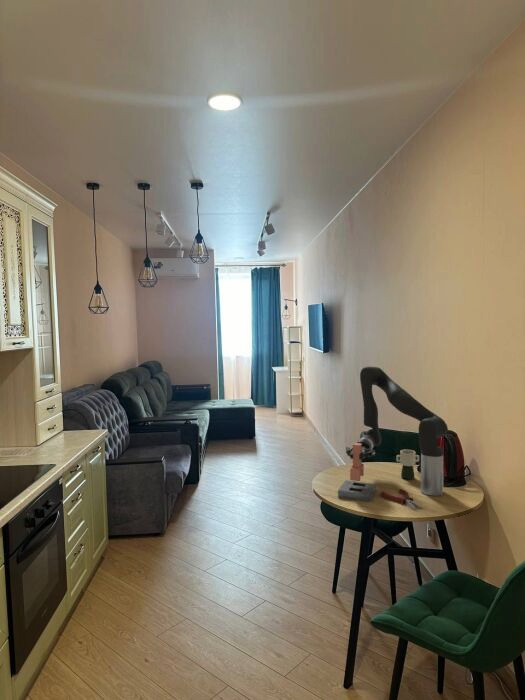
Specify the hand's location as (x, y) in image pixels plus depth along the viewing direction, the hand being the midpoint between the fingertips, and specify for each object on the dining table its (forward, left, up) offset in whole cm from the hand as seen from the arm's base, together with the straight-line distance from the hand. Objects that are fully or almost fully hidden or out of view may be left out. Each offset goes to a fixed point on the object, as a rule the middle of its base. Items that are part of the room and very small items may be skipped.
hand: (355, 456), depth 200 cm
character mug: (-18, -33, -17) cm, 41 cm away
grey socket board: (0, -3, -17) cm, 17 cm away
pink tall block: (0, -3, -10) cm, 10 cm away
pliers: (-18, -1, -18) cm, 26 cm away
